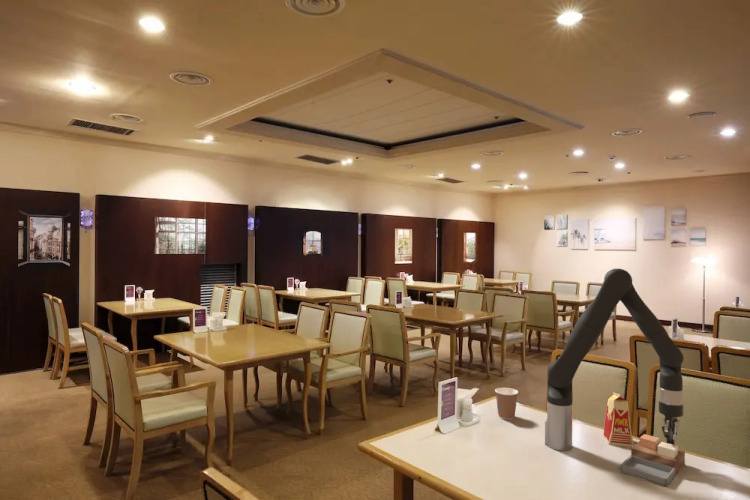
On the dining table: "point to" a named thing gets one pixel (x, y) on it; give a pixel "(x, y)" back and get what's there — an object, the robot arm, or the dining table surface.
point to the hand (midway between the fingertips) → (670, 448)
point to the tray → (648, 470)
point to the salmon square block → (649, 442)
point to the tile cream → (667, 450)
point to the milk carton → (617, 422)
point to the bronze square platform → (659, 456)
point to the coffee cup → (506, 402)
